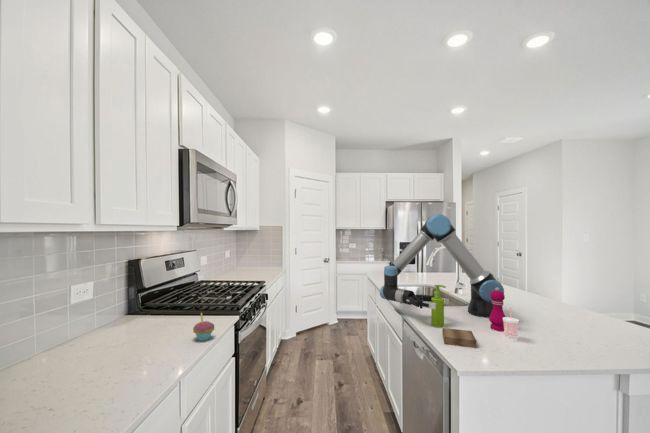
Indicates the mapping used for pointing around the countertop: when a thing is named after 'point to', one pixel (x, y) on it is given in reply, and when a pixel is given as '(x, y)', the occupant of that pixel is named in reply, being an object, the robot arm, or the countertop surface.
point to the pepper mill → (497, 310)
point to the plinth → (458, 337)
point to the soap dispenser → (437, 308)
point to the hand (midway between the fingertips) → (442, 304)
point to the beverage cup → (511, 328)
